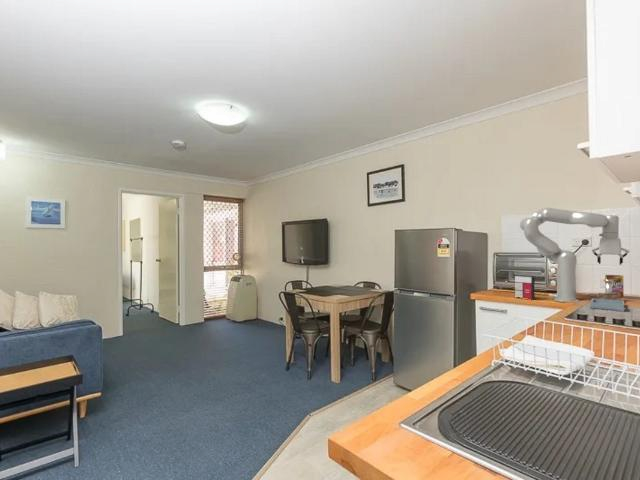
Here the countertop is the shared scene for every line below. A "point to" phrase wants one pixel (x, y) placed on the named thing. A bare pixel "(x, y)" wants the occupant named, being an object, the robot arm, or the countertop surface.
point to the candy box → (616, 284)
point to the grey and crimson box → (524, 286)
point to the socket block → (609, 296)
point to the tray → (607, 304)
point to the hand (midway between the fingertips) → (609, 264)
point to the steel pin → (608, 286)
